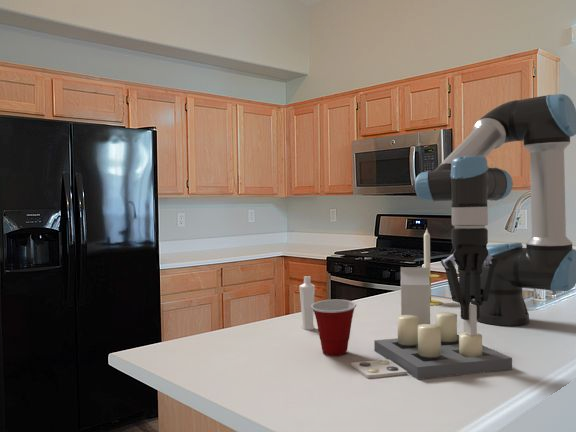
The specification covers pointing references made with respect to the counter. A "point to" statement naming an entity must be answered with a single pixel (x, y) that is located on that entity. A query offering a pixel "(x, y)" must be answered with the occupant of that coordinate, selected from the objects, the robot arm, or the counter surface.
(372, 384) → the counter surface
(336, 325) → the plastic cup
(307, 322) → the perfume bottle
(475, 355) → the cream rounded cylinder
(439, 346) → the cream domed cylinder
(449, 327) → the cream rounded cylinder
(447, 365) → the board
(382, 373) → the card
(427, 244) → the candle
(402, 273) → the milk carton
